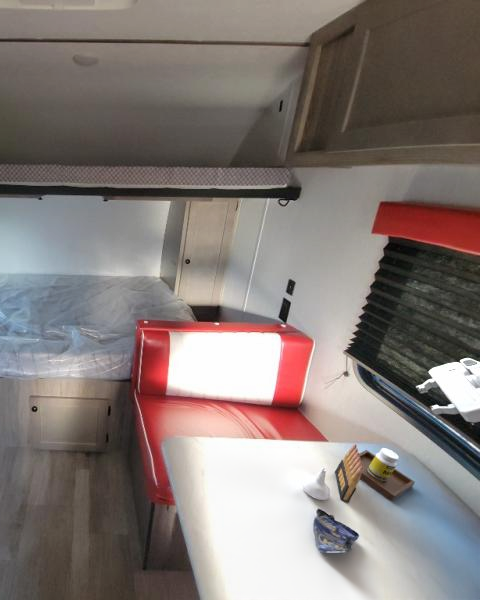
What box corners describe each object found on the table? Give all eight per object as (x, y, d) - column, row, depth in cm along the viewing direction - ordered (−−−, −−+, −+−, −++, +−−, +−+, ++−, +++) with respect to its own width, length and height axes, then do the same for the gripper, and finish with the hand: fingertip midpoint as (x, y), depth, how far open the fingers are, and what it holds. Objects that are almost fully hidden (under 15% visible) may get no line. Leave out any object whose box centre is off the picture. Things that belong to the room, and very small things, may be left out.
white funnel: (307, 500, 88) (318, 478, 85) (296, 480, 94) (306, 459, 91) (331, 505, 88) (344, 483, 85) (319, 484, 94) (330, 463, 91)
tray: (411, 487, 96) (415, 482, 96) (391, 501, 91) (394, 496, 90) (363, 454, 106) (366, 449, 106) (342, 465, 101) (345, 460, 100)
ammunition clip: (348, 503, 89) (367, 470, 85) (340, 499, 90) (359, 466, 85) (342, 474, 98) (359, 443, 93) (334, 471, 99) (351, 440, 94)
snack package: (288, 516, 84) (329, 566, 73) (300, 497, 82) (344, 546, 71) (323, 516, 87) (367, 565, 76) (336, 498, 85) (383, 545, 74)
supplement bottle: (379, 482, 96) (393, 461, 93) (363, 469, 100) (375, 448, 97) (391, 480, 97) (404, 458, 94) (374, 466, 101) (386, 446, 98)
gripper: (524, 419, 79) (448, 434, 87) (476, 371, 96) (416, 387, 104) (509, 399, 79) (435, 415, 86) (463, 354, 95) (405, 371, 103)
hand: (424, 399), depth 95 cm, fingers open, 8 cm apart
